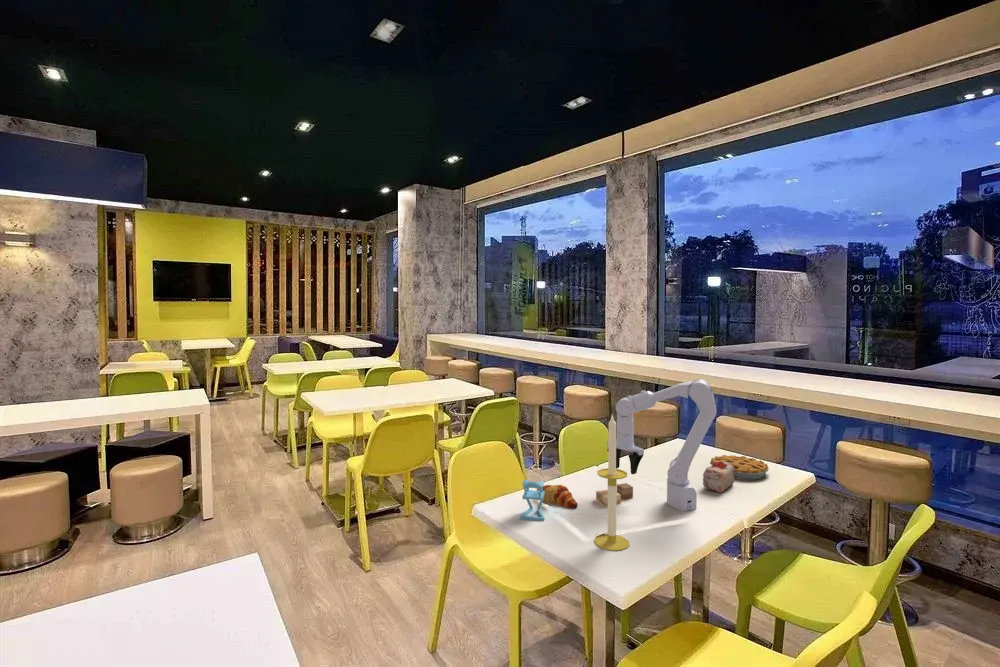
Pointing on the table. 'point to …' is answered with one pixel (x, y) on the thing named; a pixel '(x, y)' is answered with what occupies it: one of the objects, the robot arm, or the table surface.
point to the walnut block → (625, 490)
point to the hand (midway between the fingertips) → (624, 470)
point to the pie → (744, 466)
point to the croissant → (558, 496)
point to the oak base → (606, 497)
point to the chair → (533, 495)
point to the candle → (612, 496)
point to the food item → (718, 476)
